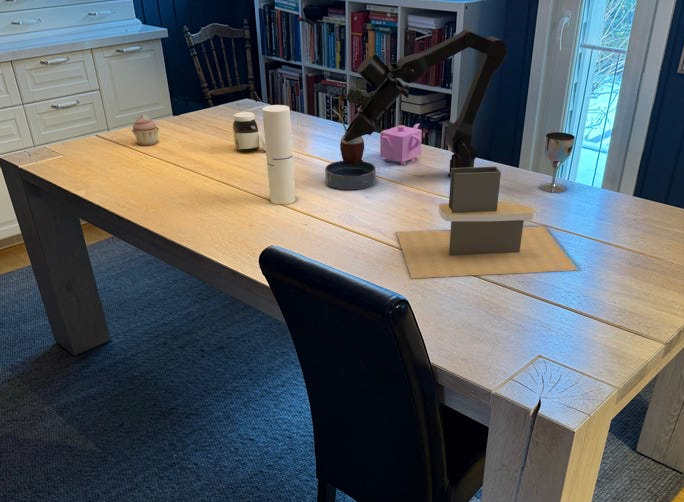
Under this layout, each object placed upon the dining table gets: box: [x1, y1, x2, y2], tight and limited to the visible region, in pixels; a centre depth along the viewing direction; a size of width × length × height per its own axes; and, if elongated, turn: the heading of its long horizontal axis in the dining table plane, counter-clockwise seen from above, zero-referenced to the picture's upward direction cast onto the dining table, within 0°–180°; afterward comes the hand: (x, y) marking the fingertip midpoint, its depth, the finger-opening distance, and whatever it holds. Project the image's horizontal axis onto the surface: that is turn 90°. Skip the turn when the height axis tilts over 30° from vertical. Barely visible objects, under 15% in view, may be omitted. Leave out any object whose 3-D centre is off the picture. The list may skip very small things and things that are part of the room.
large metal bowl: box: [324, 160, 377, 191], centre depth 202 cm, size 15×15×4 cm
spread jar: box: [232, 111, 266, 154], centre depth 227 cm, size 12×11×12 cm
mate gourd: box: [332, 109, 365, 166], centre depth 196 cm, size 8×8×15 cm
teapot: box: [379, 123, 423, 166], centre depth 217 cm, size 15×13×11 cm
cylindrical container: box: [261, 104, 297, 205], centre depth 184 cm, size 7×7×25 cm
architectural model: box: [396, 166, 579, 279], centre depth 157 cm, size 38×25×20 cm, turn 96°
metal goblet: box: [539, 131, 576, 193], centre depth 193 cm, size 8×8×15 cm
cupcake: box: [131, 113, 160, 146], centre depth 234 cm, size 9×9×10 cm
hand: (345, 137), depth 196 cm, fingers closed on mate gourd, 6 cm apart
